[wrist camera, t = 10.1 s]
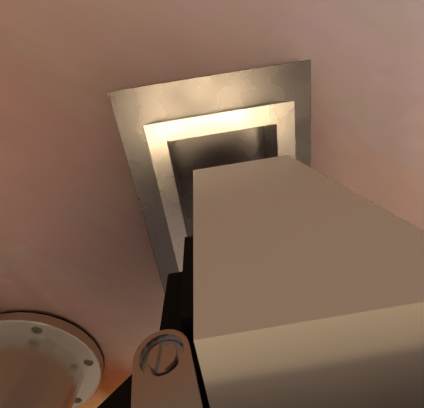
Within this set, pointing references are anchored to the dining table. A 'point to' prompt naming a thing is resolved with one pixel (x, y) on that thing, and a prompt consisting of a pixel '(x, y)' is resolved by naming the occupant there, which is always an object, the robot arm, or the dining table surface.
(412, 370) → the cream rectangular block
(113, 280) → the dining table surface
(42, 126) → the dining table surface
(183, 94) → the duct collar
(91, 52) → the dining table surface
